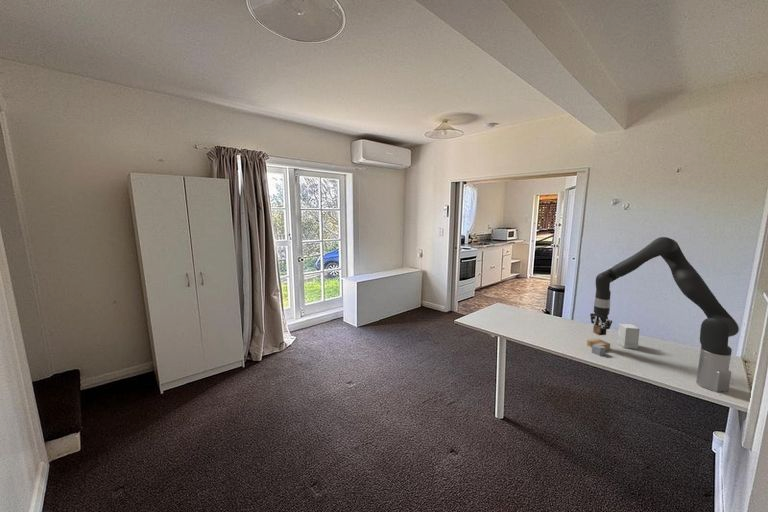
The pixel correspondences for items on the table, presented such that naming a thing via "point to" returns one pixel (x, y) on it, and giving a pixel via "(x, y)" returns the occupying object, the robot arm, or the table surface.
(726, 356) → the robot arm
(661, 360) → the table surface
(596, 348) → the grey painted cube
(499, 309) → the table surface
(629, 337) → the supplement box
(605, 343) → the oak base block
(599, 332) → the walnut cube
